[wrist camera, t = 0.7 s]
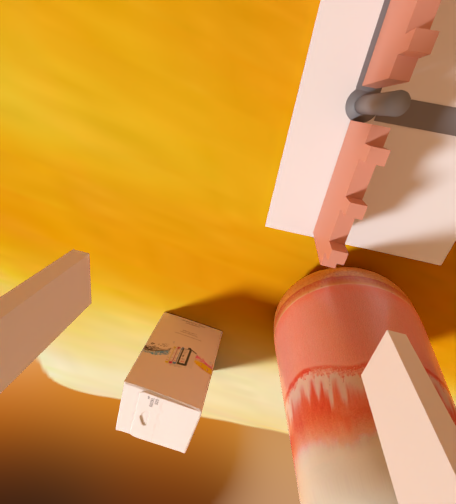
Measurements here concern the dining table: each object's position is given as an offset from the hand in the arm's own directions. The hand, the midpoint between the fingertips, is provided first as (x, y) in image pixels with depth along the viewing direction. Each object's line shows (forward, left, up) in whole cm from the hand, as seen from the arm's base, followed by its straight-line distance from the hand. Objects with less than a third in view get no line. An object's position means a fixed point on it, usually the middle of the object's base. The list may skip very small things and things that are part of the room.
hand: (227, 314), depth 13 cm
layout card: (-9, +10, -19) cm, 23 cm away
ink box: (+22, -5, -19) cm, 30 cm away
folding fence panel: (-3, +7, -19) cm, 20 cm away
